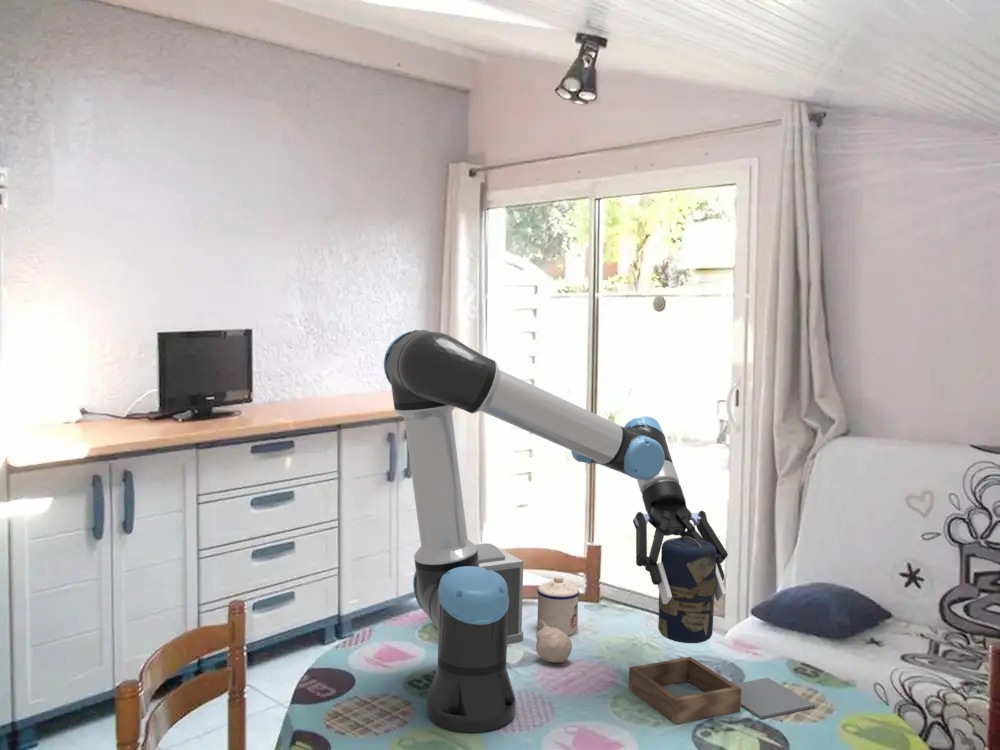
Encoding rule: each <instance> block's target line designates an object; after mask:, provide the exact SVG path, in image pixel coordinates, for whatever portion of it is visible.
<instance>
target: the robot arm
mask: <svg viewBox="0 0 1000 750" xmlns="http://www.w3.org/2000/svg"><path fill="white" fill-rule="evenodd" d="M387 347H388V348H387V349H386V351H385V353H384V357H383V368H384V374H385V376H386V379H387V382H388V383H389V384H390V385H391V393H392V400H393V406H394V408H393V409H394V411H395V412H397V413H398V414H399V415H400V416H401V417H402V418H403V419H404V427H405V434H406V441H407V448H408V454H409V455H408V456H409V463H410V470H411V471H410V473H411V478H412V485H413V486H412V487H413V493H414V494H413V495H414V501H415V508H416V516H417V524H418V531H419V541H420V547H419V548H418V549H417V550H416V552H415V553H414V555H413V556H414V558H413V559H414V564H415V565H414V567H415V568H414V569H415V571H414V575H413V580H412V586H413V587H412V588H413V593H414V597H415V600H416V603H417V604H418V606H419V607H420V609H421V610H422V611H423V612H424V613H425V614H426V616H427V617H428V618H429V619H430V620H431V622H432V623H433V624H434V626H435V627H436V628H437V635H438V637H437V641H438V642H437V667H436V671H435V674H434V676H433V679H432V682H431V685H430V687H429V691H428V694H427V696H426V711H425V712H426V716H427V718H428V719H429V720H430V721H431V723H433V724H435V725H436V726H438V727H441V728H443V729H447V730H449V731H450V730H451V731H453V732H454V731H455V732H461V733H482V732H483V733H484V732H488V731H493V730H497V729H500V728H502V727H504V726H506V725H508V724H509V723H510V722H511V721H513V719H514V718H515V715H516V705H517V704H516V703H517V702H516V696H515V692H514V689H513V686H512V683H511V679H510V676H509V672H508V670H507V654H508V653H507V652H508V651H507V648H508V644H507V625H508V607H509V596H508V588H507V584H506V582H505V580H504V578H503V577H502V576H501V575H499V574H498V573H496V572H494V571H492V570H486V568H482V567H479V560H478V552H477V546H476V545H477V544H475V543H473V542H472V541H470V540H469V538H468V532H467V531H468V530H467V523H466V516H465V509H464V507H465V506H464V500H463V491H462V485H461V475H460V468H459V466H460V465H459V460H458V451H457V444H456V443H457V442H456V436H455V435H456V434H455V429H454V419H453V411H454V409H456V408H457V409H459V410H463V411H465V412H467V413H469V414H472V415H473V414H476V413H478V412H482V413H485V414H487V415H489V416H492V417H494V418H496V419H498V420H501V421H503V422H505V423H508V424H510V425H512V426H515V427H516V428H519V429H521V430H524V431H526V432H529V433H531V434H533V435H535V436H537V437H539V438H542V439H544V440H547V441H548V442H552V443H554V444H556V445H558V446H560V447H563V448H566V449H567V450H569V451H570V452H571V455H572V457H573V459H574V460H575V461H577V462H580V463H585V464H587V465H588V464H589V465H590V464H595V465H601V466H604V467H606V468H608V469H611V470H614V471H617V472H618V473H622V474H624V475H626V476H629V477H630V478H632V479H635V480H636V481H637V483H638V487H639V490H640V493H641V495H642V496H641V497H642V501H643V504H644V505H643V506H644V508H645V511H646V512H647V513H643V512H642V511H638V512H636V515H635V516H634V518H633V519H632V523H633V525H634V528H635V533H636V534H635V535H636V536H635V554H636V555H635V563H636V564H635V565H636V566H637V567H644V569H645V571H647V572H648V573H649V575H650V580H651V583H652V584H653V585H655V586H656V585H657V588H658V591H659V592H660V595H661V599H662V602H663V604H667V603H668V602H669V601H670V599H671V598H672V594H671V591H670V587H669V584H668V580H667V577H666V574H665V570H664V567H663V563H661V562H658V560H659V556H660V552H661V550H662V544H663V542H664V537H669V536H673V535H674V536H680V537H691V538H693V539H698V540H703V541H707V542H709V543H711V544H713V545H714V546H715V548H716V578H715V593H714V598H715V600H716V602H722V601H723V600H724V599H725V597H726V596H727V594H728V593H727V590H726V588H725V584H724V582H723V580H724V579H725V573H724V571H723V568H722V564H723V562H724V561H725V560H726V558H728V555H729V553H728V551H727V550H726V549H725V547H724V545H723V543H722V542H721V540H720V539H719V538H718V536H717V534H716V533H715V531H714V530H713V528H712V526H711V525H710V523H709V522H708V517H707V514H706V512H705V511H704V510H700V511H699V512H698V513H697V512H691V510H689V508H688V507H687V503H686V498H685V496H684V493H683V489H682V486H681V485H680V480H679V477H678V474H677V471H676V468H675V465H674V464H673V459H672V456H671V454H670V453H671V452H670V449H669V447H668V442H667V439H666V435H665V434H664V432H663V430H662V427H661V426H660V423H659V422H658V420H657V419H655V418H654V417H651V416H647V415H646V416H645V415H644V416H641V417H635V418H632V419H631V420H630V419H629V421H628V422H627V423H626V424H625V425H624V426H621V425H620V424H617V423H616V422H613V421H612V420H609V419H606V418H605V417H603V416H600V415H598V414H596V413H594V412H592V411H590V410H588V409H585V408H583V407H581V406H579V405H576V404H574V403H572V402H570V401H568V400H566V399H564V398H562V397H560V396H556V395H555V394H553V393H551V392H548V391H547V390H544V389H542V388H540V387H538V386H536V385H533V384H531V383H530V382H527V381H525V380H523V379H520V378H519V377H516V376H514V375H512V374H510V373H507V372H506V371H503V370H501V369H499V365H498V363H497V362H496V360H494V359H491V358H489V357H487V356H485V355H483V354H481V353H479V352H478V351H476V350H475V349H472V348H470V347H469V346H468V345H465V344H464V343H463V342H461V341H460V340H458V339H456V338H454V337H452V336H451V335H449V334H446V333H443V332H439V331H430V330H425V329H421V330H419V329H418V330H416V329H415V330H411V331H407V332H405V333H403V334H400V335H399V336H397V337H396V338H395V339H394V340H393V341H392V342H391V343H390V344H389V345H388V346H387ZM691 521H692V523H693V524H692V523H691ZM648 523H649V524H650V525H651V526H652V527H654V528H655V532H654V535H653V540H652V544H651V548H650V551H649V554H648V537H647V536H648V535H647V534H648V532H647V530H648V529H647V527H648V526H647V525H648ZM695 526H696V527H695ZM696 528H697V530H696ZM657 562H658V563H657ZM659 592H658V593H659Z"/></svg>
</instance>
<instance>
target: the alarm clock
mask: <svg viewBox="0 0 1000 750" xmlns="http://www.w3.org/2000/svg"><path fill="white" fill-rule="evenodd" d="M475 545H476V546H477V552H478V560H479V567H482V568H486V570H492V571H494V572H496V573H498V574H499V575H501V576H502V577H503V578H504V580H505V582H506V584H507V588H508V596H509V607H508V625H507V645H512V644H517V643H522V642H524V631H523V630H522V629H523V626H522V625H523V622H522V621H523V595H524V594H523V593H524V592H523V590H524V589H523V587H524V585H523V584H524V560H523V559H520V558H518V557H516V556H514V555H513V554H510V553H509V552H508V551H505V550H504V549H501V548H500V547H498V546H497V545H494V544H492V543H487V542H486V543H479V544H475ZM521 641H522V642H521Z"/></svg>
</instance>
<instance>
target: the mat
mask: <svg viewBox="0 0 1000 750" xmlns="http://www.w3.org/2000/svg"><path fill="white" fill-rule="evenodd" d="M734 684H735V685H737V686H738V687H740V688H741V707H742V709H744V710H746V711H747V712H749V713H751V714H752V715H754V716H755V717H757V718H758V719H759V720H764V719H767V718H772V717H777V716H778V717H779V716H782V715H788V714H792V713H797V712H801V710H802V711H806V710H809V709H808V708H811V709H813V708H812V707H815V708H816V704H814V703H812V702H811V701H809V700H807V699H805V698H804V697H803V696H801V695H798V694H797V693H796V692H793V691H792V690H790V689H788V688H787V687H785V686H783V685H782V684H780V683H779V682H776V681H775V680H773V679H771V678H769V677H764V678H758V679H754V680H753V679H752V680H748V681H747V680H746V681H743V682H739V683H734ZM741 707H740V708H741ZM805 709H806V710H805Z"/></svg>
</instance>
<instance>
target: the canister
mask: <svg viewBox="0 0 1000 750" xmlns="http://www.w3.org/2000/svg"><path fill="white" fill-rule="evenodd" d="M660 552H661V558H660V563H663V567H664V570H665V574H666V577H667V580H668V584H669V587H670V591H671V594H672V598H671V599H670V601H669V602H668V603H667V604H663V602H662V599H661V595H660V592H658V622H657V623H658V626H657V627H658V631H659V633H660V634H661V636H662V637H664V638H666V639H668V640H670V641H673V642H677V643H682V644H699V643H700V644H702V643H704V642H707V641H708V640H710V639H711V637H712V635H713V632H714V631H713V629H714V627H713V626H714V609H715V608H714V607H715V594H714V593H715V578H716V548H715V546H714V545H713V544H711V543H709V542H707V541H703V540H698V539H693V538H691V537H681V536H680V537H675V538H670V539H666V540H665V541H663V542H662V545H661V550H660Z"/></svg>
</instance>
